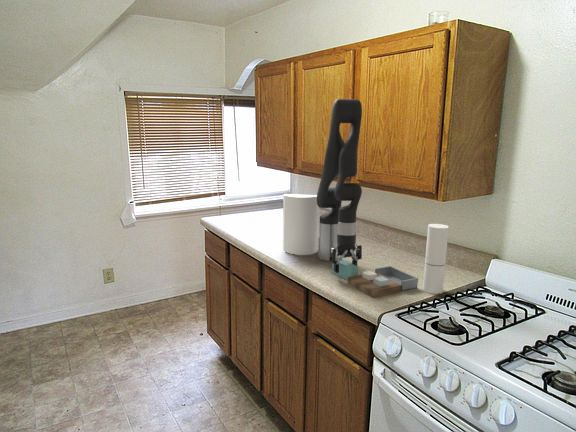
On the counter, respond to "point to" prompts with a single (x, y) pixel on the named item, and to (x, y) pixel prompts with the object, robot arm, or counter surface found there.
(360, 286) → the board
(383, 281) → the blue tile
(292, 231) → the cylinder
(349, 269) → the mint green rectangular block
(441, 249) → the cylindrical container
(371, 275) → the white tile
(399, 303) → the counter surface
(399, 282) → the tray
